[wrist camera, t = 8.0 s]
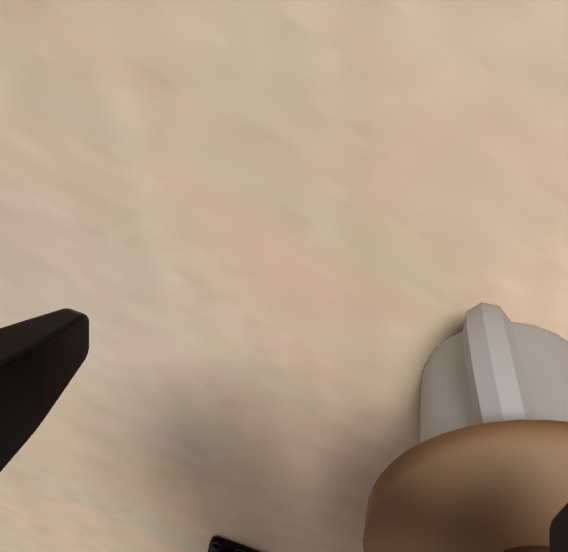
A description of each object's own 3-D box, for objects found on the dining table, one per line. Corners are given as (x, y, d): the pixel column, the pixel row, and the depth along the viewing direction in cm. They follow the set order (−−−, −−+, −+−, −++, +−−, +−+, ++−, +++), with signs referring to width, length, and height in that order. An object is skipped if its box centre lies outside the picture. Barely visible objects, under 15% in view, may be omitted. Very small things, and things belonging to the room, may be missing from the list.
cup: (439, 442, 25) (445, 631, 17) (387, 279, 21) (365, 430, 14) (599, 432, 22) (688, 651, 15) (572, 242, 18) (672, 405, 11)
